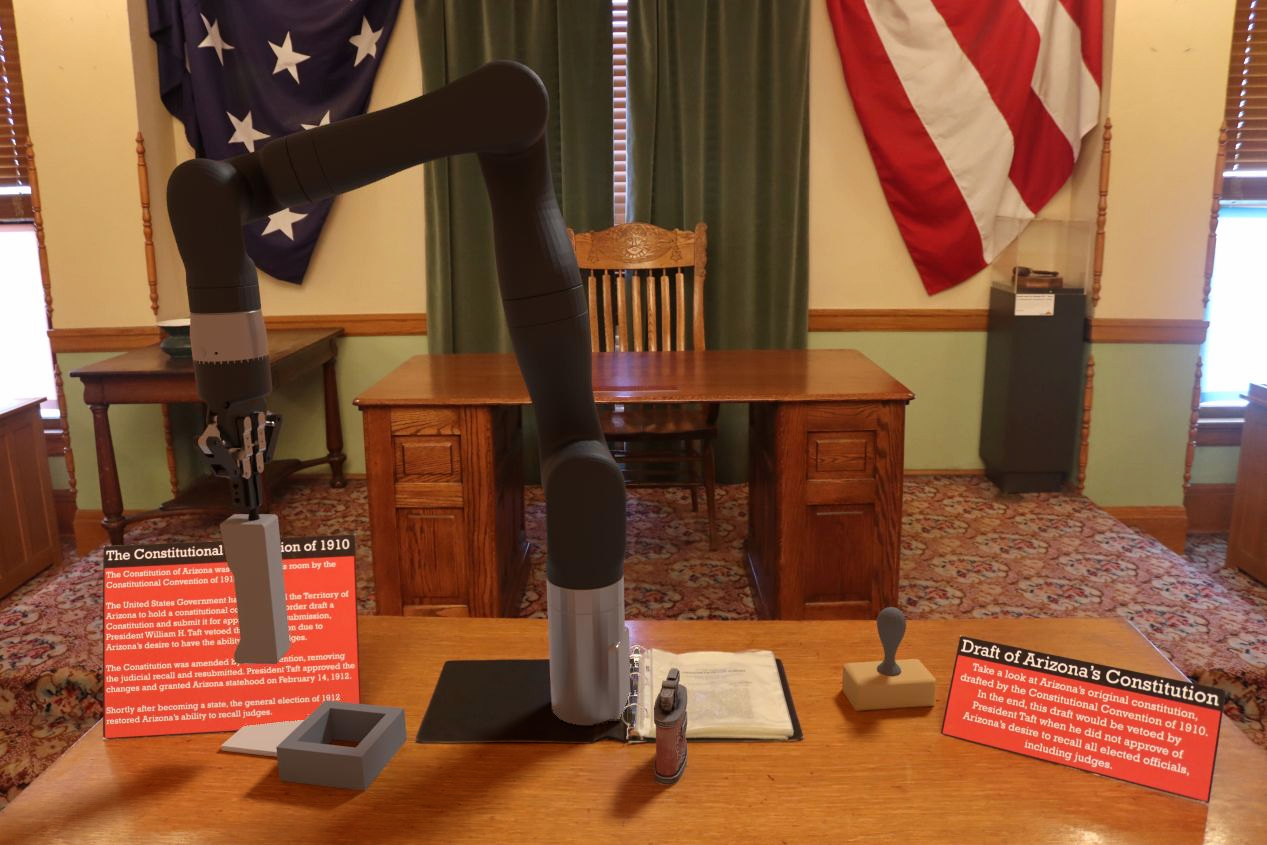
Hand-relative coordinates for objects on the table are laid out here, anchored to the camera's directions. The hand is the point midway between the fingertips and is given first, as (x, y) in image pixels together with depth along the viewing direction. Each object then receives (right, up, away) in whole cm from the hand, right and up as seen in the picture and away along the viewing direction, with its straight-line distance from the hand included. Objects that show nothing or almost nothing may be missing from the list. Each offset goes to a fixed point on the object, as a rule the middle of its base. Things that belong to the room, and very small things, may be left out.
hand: (248, 507), depth 103 cm
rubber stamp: (+74, -25, +12) cm, 79 cm away
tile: (0, -27, +6) cm, 28 cm away
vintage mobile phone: (0, -18, +4) cm, 18 cm away
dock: (+10, -28, +1) cm, 30 cm away
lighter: (+47, -28, -1) cm, 55 cm away
